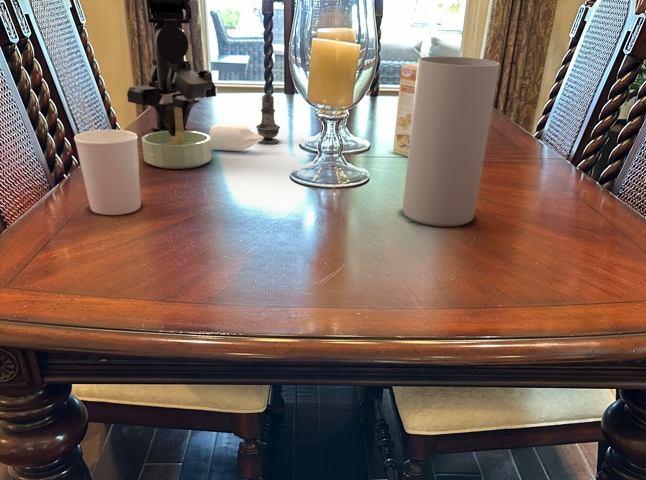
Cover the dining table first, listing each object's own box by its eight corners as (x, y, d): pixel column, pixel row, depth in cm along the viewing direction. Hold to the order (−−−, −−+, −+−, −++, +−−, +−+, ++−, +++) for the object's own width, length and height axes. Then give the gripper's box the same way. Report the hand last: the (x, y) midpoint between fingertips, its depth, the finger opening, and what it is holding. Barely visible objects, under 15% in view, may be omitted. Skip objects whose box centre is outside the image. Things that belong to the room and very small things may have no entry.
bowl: (130, 160, 131) (127, 136, 129) (183, 150, 141) (181, 127, 138) (172, 174, 124) (170, 149, 121) (224, 161, 133) (223, 138, 131)
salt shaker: (281, 139, 153) (281, 88, 147) (278, 145, 148) (278, 92, 142) (258, 138, 154) (257, 87, 148) (254, 143, 149) (253, 91, 143)
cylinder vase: (429, 232, 100) (451, 67, 87) (388, 209, 109) (402, 57, 97) (488, 222, 105) (517, 65, 92) (444, 201, 115) (464, 55, 102)
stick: (172, 151, 131) (168, 107, 126) (179, 150, 132) (175, 106, 128) (177, 153, 130) (174, 109, 125) (185, 152, 131) (182, 108, 127)
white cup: (156, 203, 108) (149, 133, 102) (123, 220, 100) (113, 145, 94) (109, 195, 110) (99, 127, 104) (73, 211, 102) (60, 138, 96)
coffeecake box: (413, 159, 141) (424, 67, 132) (391, 152, 146) (399, 64, 136) (454, 150, 150) (466, 64, 140) (431, 144, 155) (442, 60, 145)
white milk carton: (260, 155, 139) (260, 130, 136) (209, 152, 140) (208, 127, 137) (266, 149, 144) (266, 125, 141) (216, 146, 145) (215, 121, 142)
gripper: (156, 61, 111) (165, 149, 119) (232, 55, 123) (235, 135, 131) (120, 55, 117) (130, 139, 125) (196, 50, 129) (201, 126, 137)
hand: (177, 135), depth 129 cm, fingers closed on stick, 2 cm apart
